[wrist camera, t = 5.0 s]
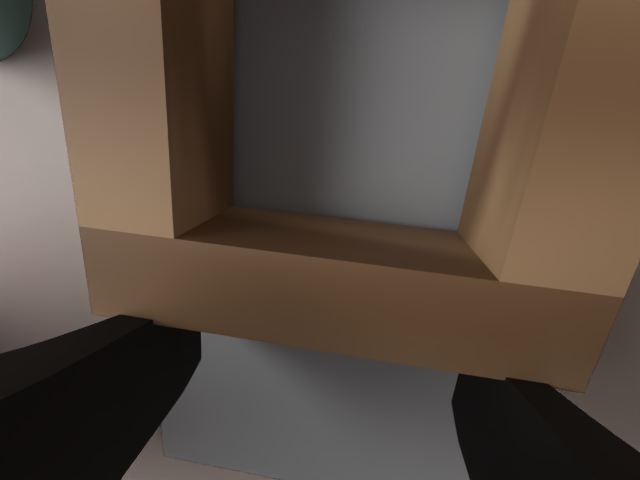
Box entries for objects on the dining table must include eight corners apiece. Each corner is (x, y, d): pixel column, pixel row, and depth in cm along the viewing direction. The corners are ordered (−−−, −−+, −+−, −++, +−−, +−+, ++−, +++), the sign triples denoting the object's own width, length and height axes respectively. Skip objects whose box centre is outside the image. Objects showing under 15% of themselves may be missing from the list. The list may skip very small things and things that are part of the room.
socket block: (517, 311, 9) (584, 393, 6) (169, 263, 10) (91, 314, 7) (672, -189, 6) (950, -480, 3) (140, -185, 7) (-16, -400, 4)
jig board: (474, 508, 13) (518, 670, 9) (169, 447, 14) (94, 566, 10) (717, -223, 6) (1246, -759, 2) (117, -213, 8) (-136, -559, 4)
